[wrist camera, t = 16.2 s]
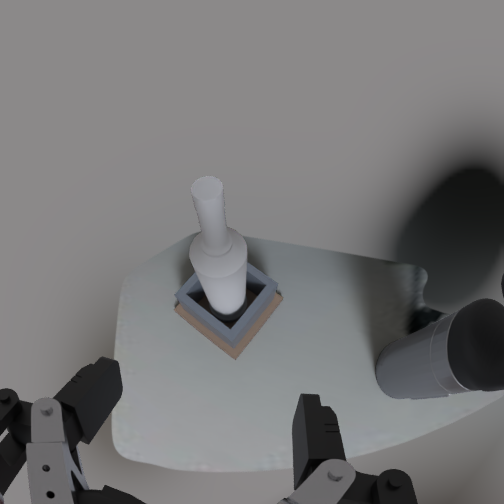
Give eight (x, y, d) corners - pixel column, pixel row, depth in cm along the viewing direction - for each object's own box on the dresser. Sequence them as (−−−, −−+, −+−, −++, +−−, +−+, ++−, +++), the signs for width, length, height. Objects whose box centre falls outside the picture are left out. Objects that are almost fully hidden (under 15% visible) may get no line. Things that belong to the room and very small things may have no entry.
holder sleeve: (282, 299, 42) (289, 282, 36) (235, 359, 38) (233, 353, 31) (223, 257, 45) (220, 234, 38) (175, 311, 40) (163, 295, 34)
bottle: (242, 284, 42) (238, 153, 19) (251, 319, 39) (257, 212, 17) (207, 292, 41) (164, 168, 19) (214, 327, 39) (170, 230, 16)
